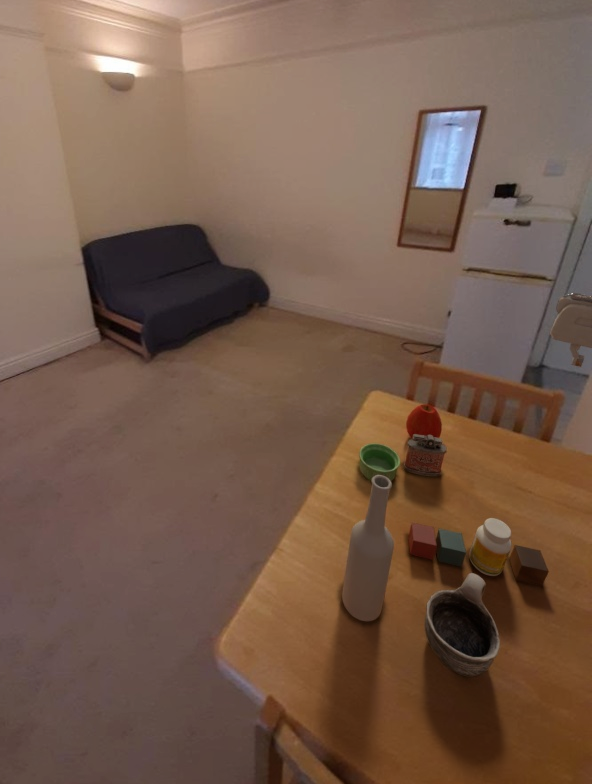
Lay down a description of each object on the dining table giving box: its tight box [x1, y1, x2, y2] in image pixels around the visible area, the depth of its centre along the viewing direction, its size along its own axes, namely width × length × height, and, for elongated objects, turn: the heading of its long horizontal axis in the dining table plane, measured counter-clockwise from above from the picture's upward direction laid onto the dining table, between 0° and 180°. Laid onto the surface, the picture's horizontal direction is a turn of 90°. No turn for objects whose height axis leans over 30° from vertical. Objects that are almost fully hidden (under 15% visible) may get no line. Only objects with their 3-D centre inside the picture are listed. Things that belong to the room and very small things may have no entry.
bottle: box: [341, 475, 395, 622], centre depth 63 cm, size 7×7×28 cm
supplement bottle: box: [468, 517, 513, 577], centre depth 72 cm, size 5×5×10 cm
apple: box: [405, 403, 443, 440], centre depth 102 cm, size 8×8×11 cm
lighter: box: [403, 434, 448, 477], centre depth 93 cm, size 8×3×10 cm, turn 74°
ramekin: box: [358, 442, 401, 482], centre depth 94 cm, size 9×9×4 cm
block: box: [435, 528, 467, 567], centre depth 75 cm, size 4×4×4 cm
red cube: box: [408, 522, 437, 560], centre depth 77 cm, size 4×4×4 cm
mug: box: [424, 572, 501, 677], centre depth 62 cm, size 10×12×10 cm
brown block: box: [508, 544, 550, 587], centre depth 72 cm, size 4×4×4 cm
